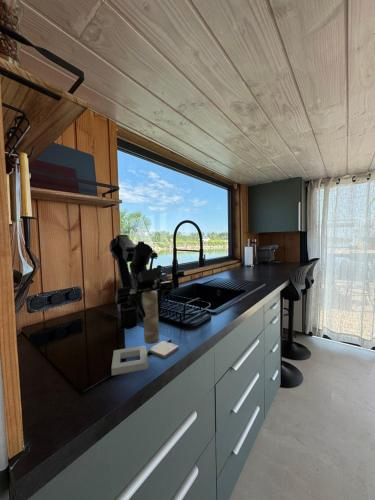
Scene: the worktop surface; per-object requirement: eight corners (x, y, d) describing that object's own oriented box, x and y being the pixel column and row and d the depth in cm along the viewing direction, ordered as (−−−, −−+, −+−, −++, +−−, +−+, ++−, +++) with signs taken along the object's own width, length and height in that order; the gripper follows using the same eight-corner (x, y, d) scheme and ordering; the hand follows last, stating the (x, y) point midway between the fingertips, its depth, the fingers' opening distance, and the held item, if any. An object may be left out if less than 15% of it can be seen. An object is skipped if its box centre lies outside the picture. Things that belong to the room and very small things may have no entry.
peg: (144, 344, 68) (142, 295, 67) (144, 338, 72) (141, 291, 71) (159, 342, 69) (158, 293, 68) (158, 336, 73) (156, 290, 72)
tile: (148, 351, 73) (148, 349, 73) (163, 342, 79) (162, 340, 79) (164, 358, 69) (164, 355, 69) (178, 348, 75) (178, 346, 75)
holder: (114, 356, 71) (113, 350, 71) (145, 351, 73) (145, 345, 73) (111, 375, 61) (111, 368, 61) (148, 368, 64) (148, 362, 64)
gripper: (114, 262, 68) (125, 308, 59) (170, 257, 77) (186, 297, 68) (111, 283, 75) (120, 326, 66) (163, 276, 84) (176, 314, 75)
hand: (152, 315), depth 69 cm, fingers closed on peg, 5 cm apart
